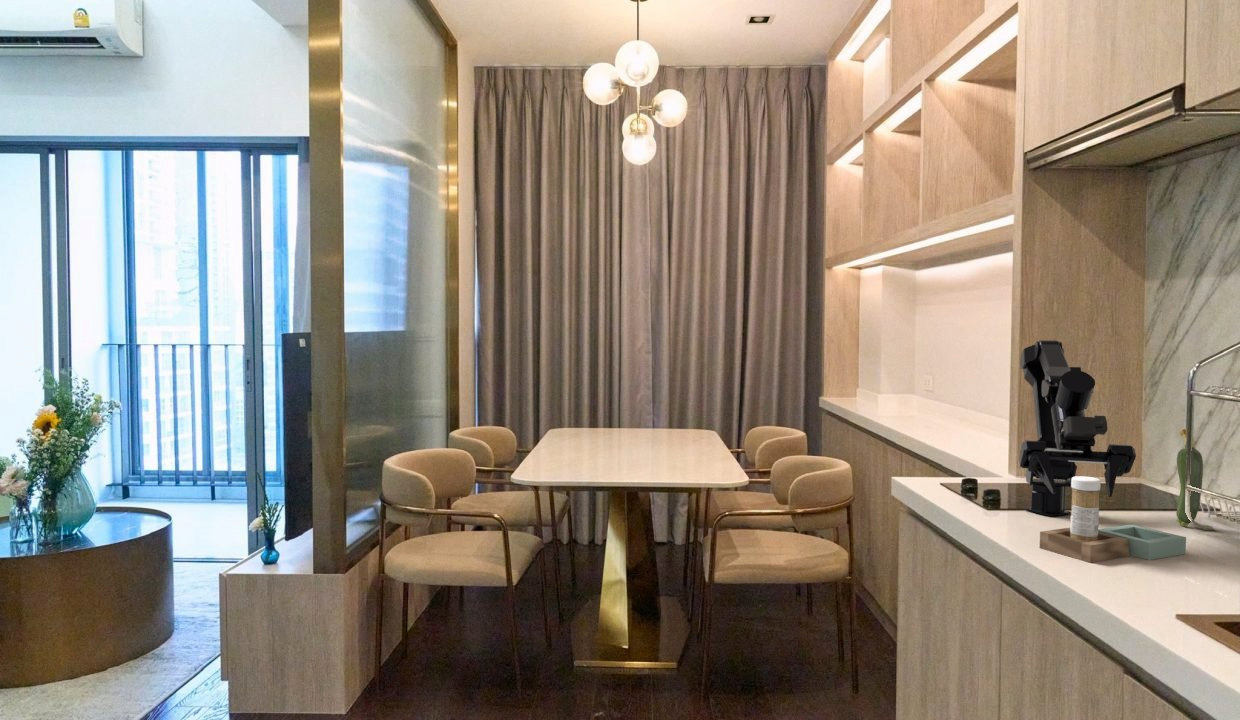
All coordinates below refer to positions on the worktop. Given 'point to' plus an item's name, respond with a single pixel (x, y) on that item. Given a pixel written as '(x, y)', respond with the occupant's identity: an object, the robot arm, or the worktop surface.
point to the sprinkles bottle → (1085, 508)
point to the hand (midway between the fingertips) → (1082, 494)
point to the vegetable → (1194, 480)
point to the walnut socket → (1084, 545)
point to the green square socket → (1149, 541)
